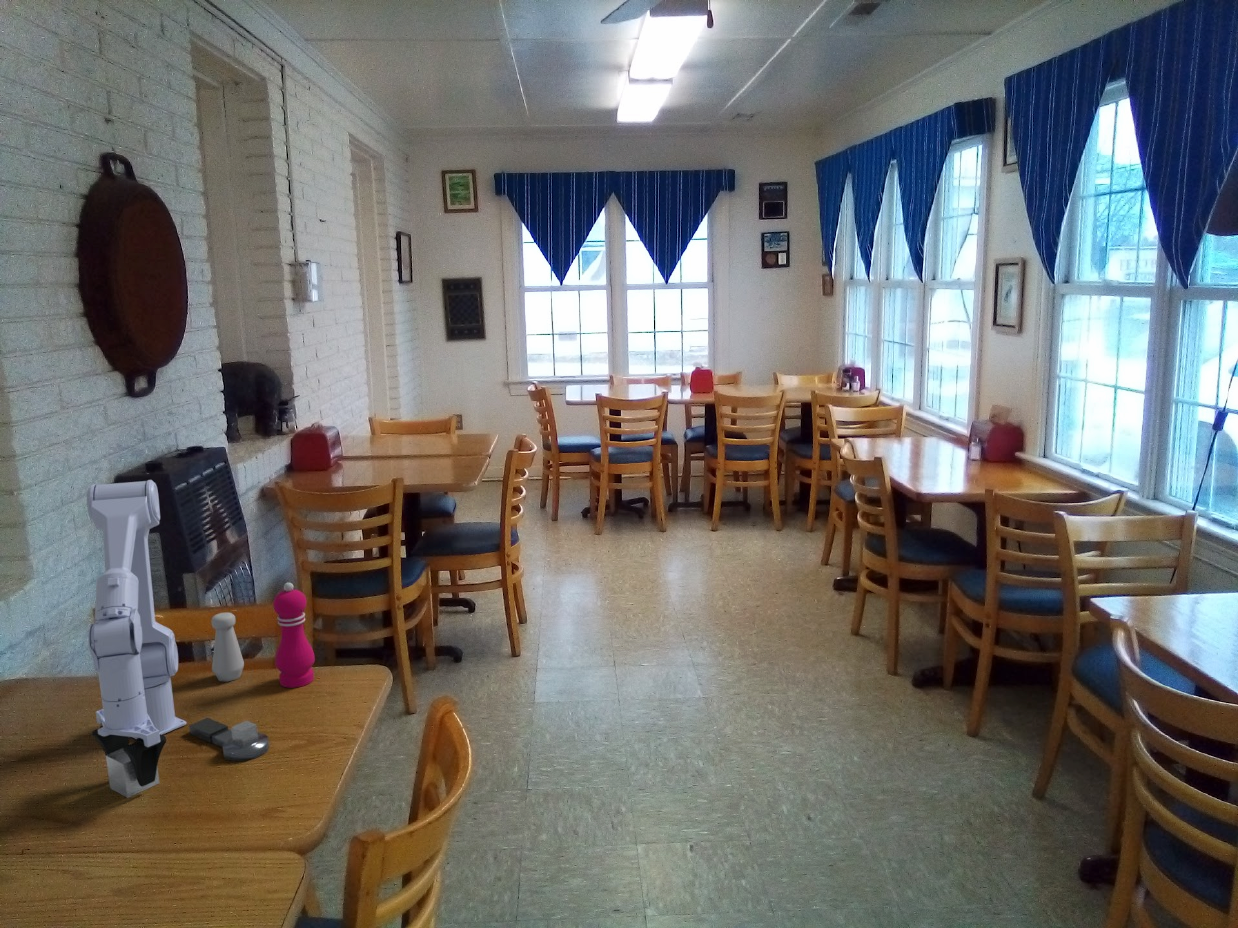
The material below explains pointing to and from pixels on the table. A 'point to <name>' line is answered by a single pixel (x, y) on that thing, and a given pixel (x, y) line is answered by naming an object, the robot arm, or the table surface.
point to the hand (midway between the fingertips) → (133, 775)
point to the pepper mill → (293, 639)
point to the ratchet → (232, 738)
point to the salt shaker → (226, 648)
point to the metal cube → (125, 774)
